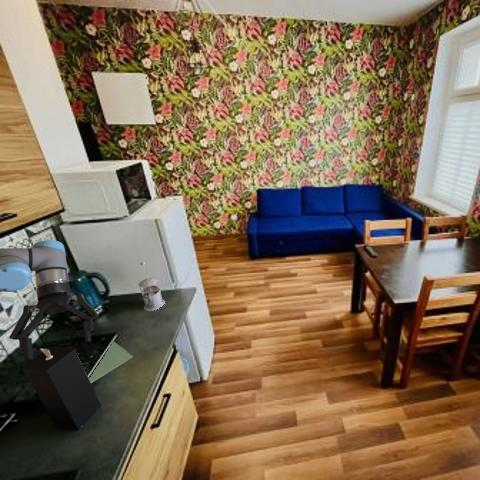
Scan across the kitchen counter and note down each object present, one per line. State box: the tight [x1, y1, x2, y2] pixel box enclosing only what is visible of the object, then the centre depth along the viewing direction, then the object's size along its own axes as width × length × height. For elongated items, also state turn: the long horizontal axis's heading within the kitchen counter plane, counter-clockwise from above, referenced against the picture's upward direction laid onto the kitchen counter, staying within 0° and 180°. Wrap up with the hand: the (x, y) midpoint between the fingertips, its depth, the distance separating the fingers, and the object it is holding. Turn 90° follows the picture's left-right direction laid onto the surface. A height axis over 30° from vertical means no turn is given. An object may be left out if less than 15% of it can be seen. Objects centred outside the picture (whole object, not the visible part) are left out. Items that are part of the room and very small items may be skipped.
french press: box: [138, 261, 166, 312], centre depth 132 cm, size 10×12×25 cm
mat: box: [89, 341, 134, 384], centre depth 103 cm, size 20×18×1 cm
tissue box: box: [21, 345, 102, 431], centre depth 78 cm, size 8×8×28 cm
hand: (60, 350), depth 81 cm, fingers open, 13 cm apart
